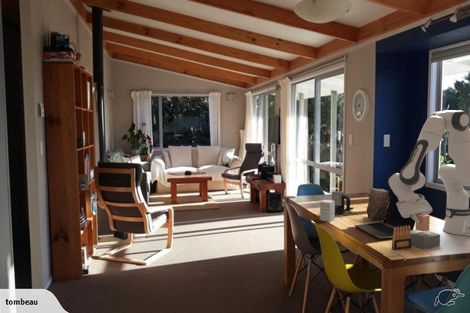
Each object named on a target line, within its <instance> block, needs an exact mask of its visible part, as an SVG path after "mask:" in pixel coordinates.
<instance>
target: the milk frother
mask: <svg viewBox="0 0 470 313" xmlns="http://www.w3.org/2000/svg"><path fill="white" fill-rule="evenodd" d="M331 200H332V201H335V215H343V214H345V212H349V211H351V210H354V209H355V207H354V206H353V207H351V201H352V200H351V198H350V196H349V195H346V192H344V191H339V190H338V191H331ZM345 201H346V202H345Z"/></svg>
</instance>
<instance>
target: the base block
mask: <svg viewBox="0 0 470 313" xmlns="http://www.w3.org/2000/svg"><path fill="white" fill-rule="evenodd" d="M410 232H411V246H413V247H416V248H419V249H422V250H425V249H426V250H427V249H431V248H435V247H440V246H441V245H440V244H441V234H439V233H436V232H432V231H430V230H429V231H419V230H416V229H412V230H411V229H410Z"/></svg>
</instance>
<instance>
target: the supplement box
mask: <svg viewBox="0 0 470 313" xmlns="http://www.w3.org/2000/svg"><path fill="white" fill-rule="evenodd" d="M335 216H336V214H335V201H332V199H331V200H330V199H322V200H321V201H319V220H320V221H324V222H329V223H330V222H332V221H335Z"/></svg>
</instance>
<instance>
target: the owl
mask: <svg viewBox="0 0 470 313" xmlns="http://www.w3.org/2000/svg"><path fill="white" fill-rule="evenodd" d="M389 193H390V190H386V189H384V188H374V187H370V192H369V194H368V204H367V208H366V215H367V219H368V220H369V222H384V221H383V220H384V218H385V215H386V212H387V208H389V205H390V198H389V196H390V195H389Z"/></svg>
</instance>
